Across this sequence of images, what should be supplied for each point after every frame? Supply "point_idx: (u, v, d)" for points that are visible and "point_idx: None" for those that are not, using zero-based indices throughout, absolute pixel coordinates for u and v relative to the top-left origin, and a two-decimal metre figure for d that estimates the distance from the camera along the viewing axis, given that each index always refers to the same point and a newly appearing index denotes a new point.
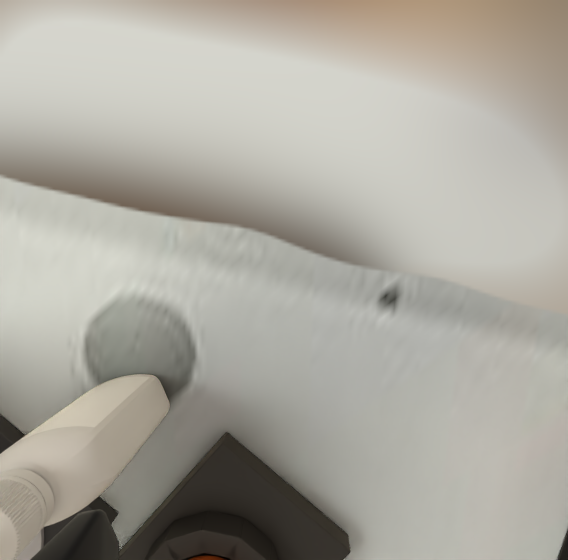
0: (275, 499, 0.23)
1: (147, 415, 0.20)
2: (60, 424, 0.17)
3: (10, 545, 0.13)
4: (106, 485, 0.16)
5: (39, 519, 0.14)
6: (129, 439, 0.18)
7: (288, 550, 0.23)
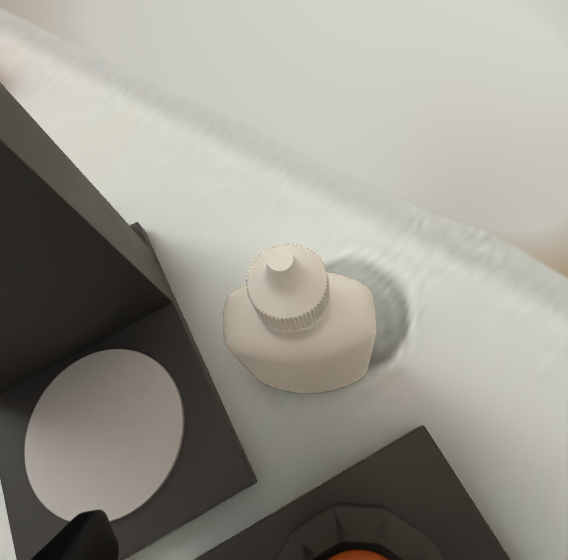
0: (474, 524, 0.17)
1: None
2: None
3: (317, 293, 0.12)
4: (365, 338, 0.15)
5: (324, 308, 0.13)
6: None
7: None
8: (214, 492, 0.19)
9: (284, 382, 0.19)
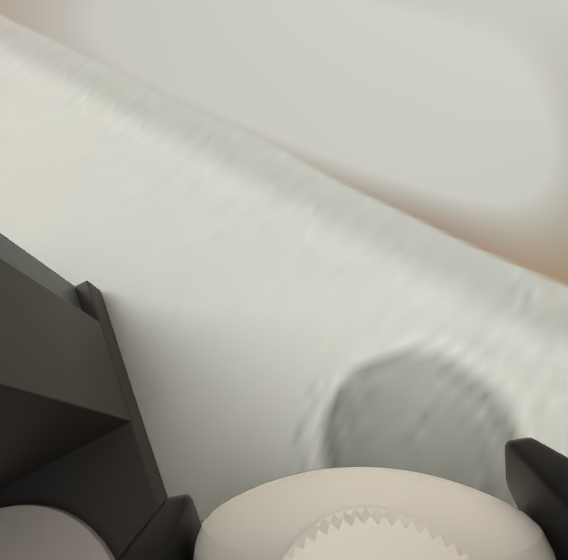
0: None
1: None
2: None
3: None
4: None
5: None
6: None
7: None
8: None
9: None
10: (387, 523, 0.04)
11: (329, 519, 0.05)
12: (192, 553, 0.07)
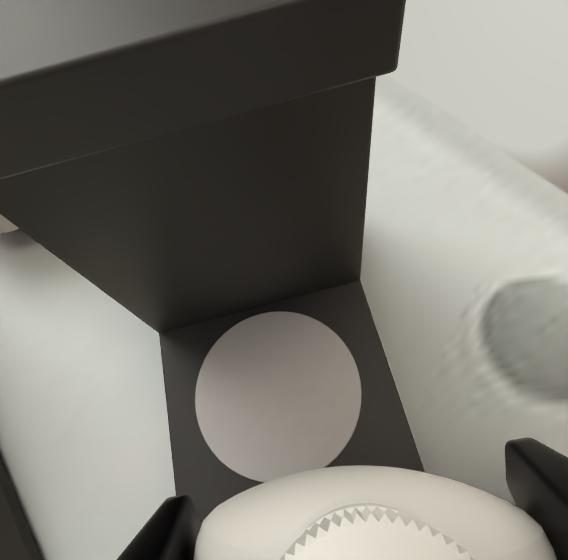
0: None
1: None
2: None
3: None
4: None
5: None
6: None
7: None
8: None
9: None
10: (388, 520, 0.04)
11: (330, 517, 0.05)
12: (192, 553, 0.07)
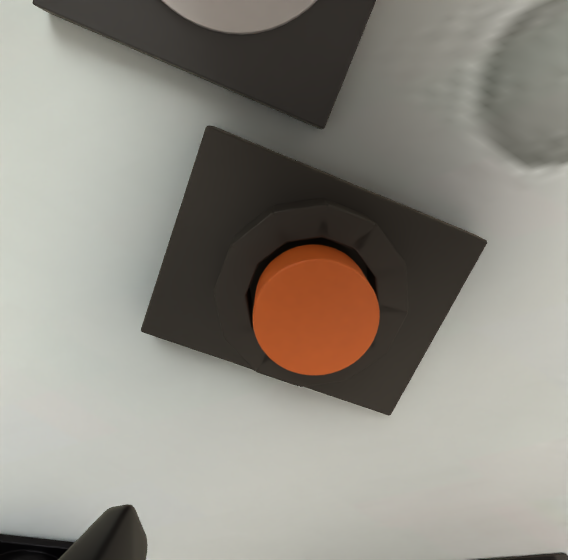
0: (430, 323, 0.18)
1: None
2: None
3: None
4: None
5: None
6: None
7: None
8: (284, 97, 0.16)
9: None
10: None
11: None
12: None
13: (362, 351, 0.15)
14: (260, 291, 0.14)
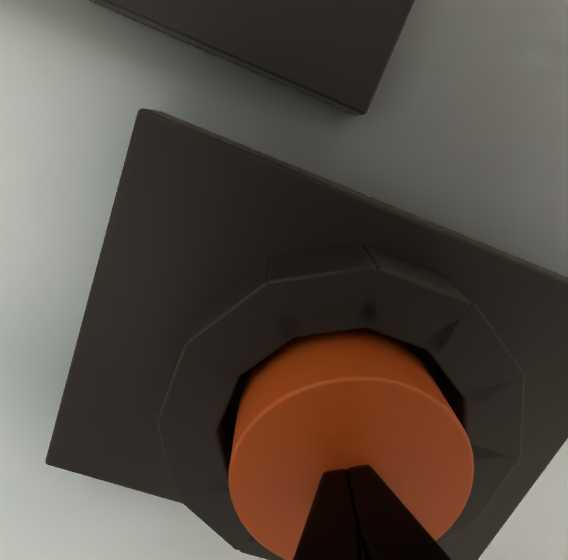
0: (540, 451, 0.11)
1: None
2: None
3: None
4: None
5: None
6: None
7: None
8: (290, 53, 0.08)
9: None
10: None
11: None
12: None
13: (435, 535, 0.08)
14: (242, 434, 0.07)
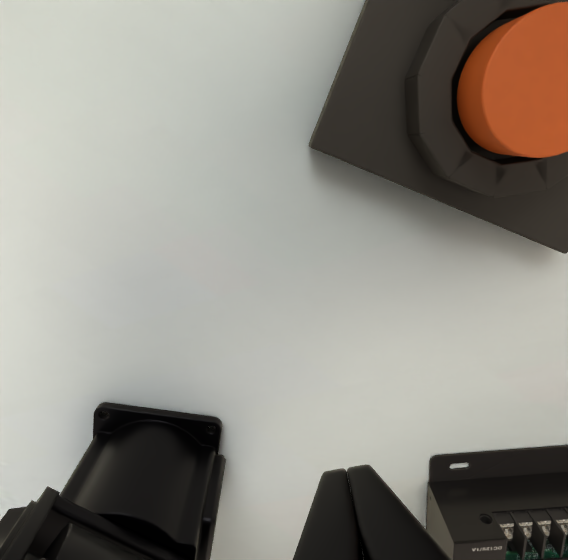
0: None
1: None
2: None
3: None
4: None
5: None
6: None
7: None
8: None
9: None
10: None
11: None
12: None
13: None
14: (496, 45, 0.13)
